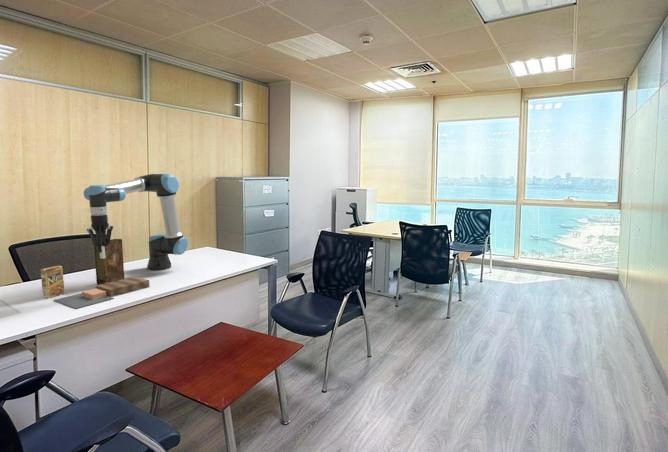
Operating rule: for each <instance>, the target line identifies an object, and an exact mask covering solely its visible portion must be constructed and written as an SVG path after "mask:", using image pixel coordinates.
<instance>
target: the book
mask: <svg viewBox="0 0 668 452" xmlns="http://www.w3.org/2000/svg"><path fill="white" fill-rule="evenodd" d="M101 244H102V241H101ZM93 246H94V245H93ZM106 250H107V251H106V252H105V256H106V258H104V259H102V258H100V253H99V252H98V247H97V246H94V249H93V251H94V264H95V280H96V285H100V284H105V283H109V282H113V281H118V280H122V279H125V268H124V266H125V265H124V252H123V250H124V248H123V239H122V238H113V239H110V244H108V245H107V246H106Z"/></svg>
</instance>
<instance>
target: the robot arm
mask: <svg viewBox="0 0 668 452" xmlns="http://www.w3.org/2000/svg"><path fill="white" fill-rule="evenodd" d="M179 187H180V183H179V181H178V178H177V177H176V176H175V175H173V174H169V173H149V174H145V175H141V176H137V177H134V178H133V179H129V180H124V181H119V182H115V183H109V184H105V185H104V184H92V185H89V186H88V187H86V188H85V189H84V190H83V197H84V199H86V200H87V201H88V202H89V211H90V223H91V225H90V227H89V228H86V232H87V233H88V234H89V237H90V240H91V243H92V245H93V246H97V247H98V252H99V253H100V258H102V259H104V258H106V256H105V252H106V251H107V250H106V246H107V245H108V244H110V240H112V239H111V237H112V231H113V229H114V226H113V225H110V224H109V222H108V221H109V220H108V218H109V216H108V209H107V203H115V202H122V201H123V200H125V198H126V195H127V194H131V193H132V194H133V193H135V192H137V193H142V192H146V193H147V192H149V193H152V192H153V193H156V196H157V198H159V201H160V205H161V206H160V207H161V213H162V218H163V223H164V229H165V233H160V234H159V233H158V234H153V235H152V234H151V235H149V236H148V252H149V258H148V262H147V264H146V267H147V268H146V269H147V270H149V271H161V270H168V269H171V268H172V262H171V260H170V257H169V255H174V256H177V255H178V256H179V255H183V254H185V252H186V251H187V249H188V246H189V241H188V239H187V238H186V237H184V235H183V233H182V232H181V231H180V223H179V218H178V213H177V207H176V202H175V201H176V200H175V196H176V195H177V192H178V191H179ZM101 242H102V244H101Z"/></svg>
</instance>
